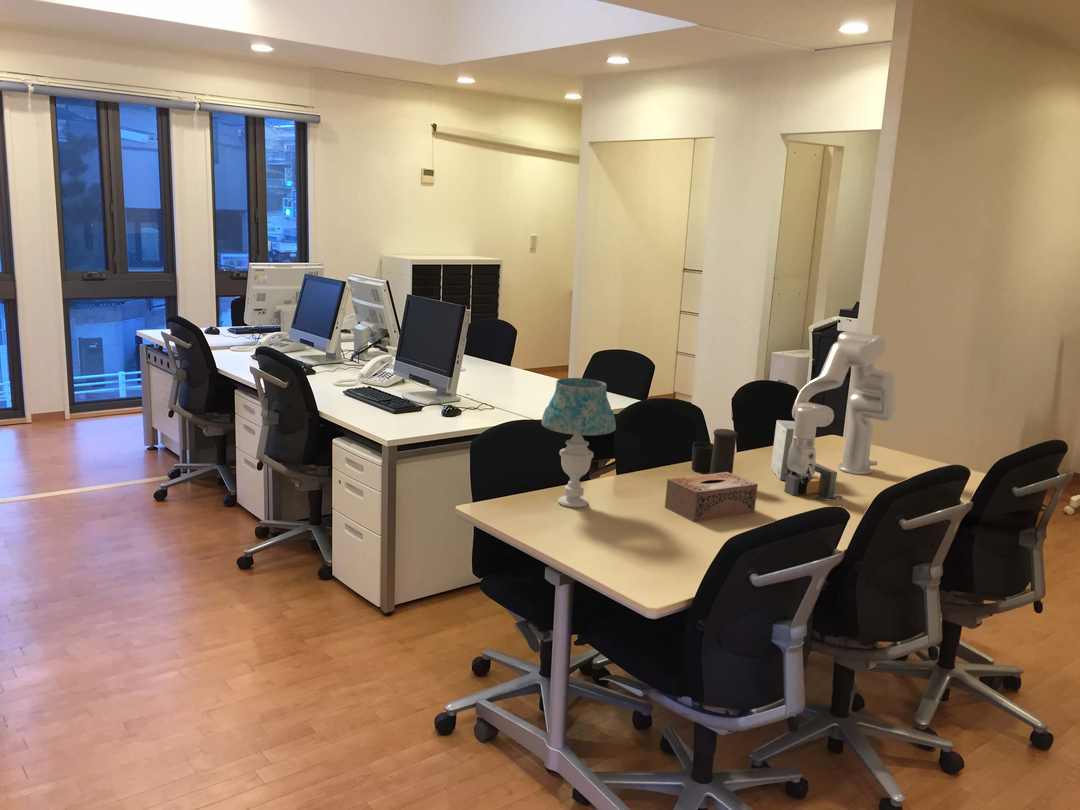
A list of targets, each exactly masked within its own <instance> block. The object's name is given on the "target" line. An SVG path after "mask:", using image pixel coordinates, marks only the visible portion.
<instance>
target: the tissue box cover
mask: <svg viewBox="0 0 1080 810" xmlns="http://www.w3.org/2000/svg"><path fill="white" fill-rule="evenodd" d="M757 493H758V483H757V482H754V481H750V480H749V479H746V478H744V477H742V476H739V475H736V474H734V473H729V472H722V473H714V474H710V473H705V474H700V475H690V476H683V477H674V478H668V479H667V481H666V491H665V500H664V501H665V502H664V509H667V510H668V511H671V512H672V513H675V514H677V515H679V516H681V517H683V518H685V519H686V520H689V521H691V522H692V523H696V522H702V521H708V520H715V519H716V520H717V519H720V518H721V519H722V518H727V517H734V516H742V515H747V514H748V515H749V514H752V513H753V514H754V513H755V511H756V510H755V509H756V500H757Z"/></svg>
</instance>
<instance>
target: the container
mask: <svg viewBox="0 0 1080 810" xmlns="http://www.w3.org/2000/svg"><path fill="white" fill-rule="evenodd" d="M713 435H714V437H713V443H712V444H713V452H712V460H711V468H710V473H709V474H714V473H722V472H729V473H732V474H734V473H733V471H734V461H735V452H736V444H737V438H738V436H739V434H738V432H737V431H735V430H733V429H728V428H716V429H714V431H713Z"/></svg>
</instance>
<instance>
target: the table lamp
mask: <svg viewBox="0 0 1080 810" xmlns="http://www.w3.org/2000/svg"><path fill="white" fill-rule="evenodd" d="M607 387H608V386H607V383H606V382H604V381H602V380H597V379H591V378H580V377H567V378H566V377H565V378H559V379H557V380H556V382H555V390H554V394H553V396H552V397H551V399H550V400H549V403H548V405H547V406H546V407H545V409H544V411H543V414H542V417H541V425H542V427H544V428H545V429H547V430H549V431H552V432H555V433H556V432H557V433H561V434H566V435H573V436H572V437H571V438H570V439H567V440H565V445H567V446H565V448H561V449H560V450H559V456H560V461H561V462H560V464H561V468H562V470H563V472H564V473H565V474H566V475H568V478H569V480H568V483H567V484H566V485H564V488H563V489H564V490H563V493H564V495H563V496H560V497H559V498H558V500H557V502H558V503H559V504H560V505H561V506H564V507H567V508H574V509H575V508H583V507H586V506H587V505H589V501H588V499H587V498H585V497H583V496H584V489H585V488H584V486H583V485H581V484H582V483H581V482H580V479H581V478H582V477H583V476H585V475H586V474H587V472H589V470H590V467H591V462H592V459H594V452H593V451H592V450H590V449H589V448H588V447H589V445H590V442H589V441H587V440H585V439H584V436H601V435H607V434H608V435H609V434H611V433H613V432H615V431H616V430H617V422H616V417H615V413H614V411H613V409H612V407H611V404H610V402H609V399H608V393H607V390H608V389H607Z"/></svg>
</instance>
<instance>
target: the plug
mask: <svg viewBox="0 0 1080 810" xmlns="http://www.w3.org/2000/svg"><path fill="white" fill-rule="evenodd" d="M804 479H805V477H804ZM819 482H820V476H817V477H814V479H812V480H810V481H809V483H807V491H806V494H807V495H808V494H818V490H819ZM799 483H801V480H800V475H798V474H796V475H786V480H785V484H784V492H785V493H787V494H789V495H792V496H800V495H804V494H798V489H799ZM806 494H805V495H806Z"/></svg>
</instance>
